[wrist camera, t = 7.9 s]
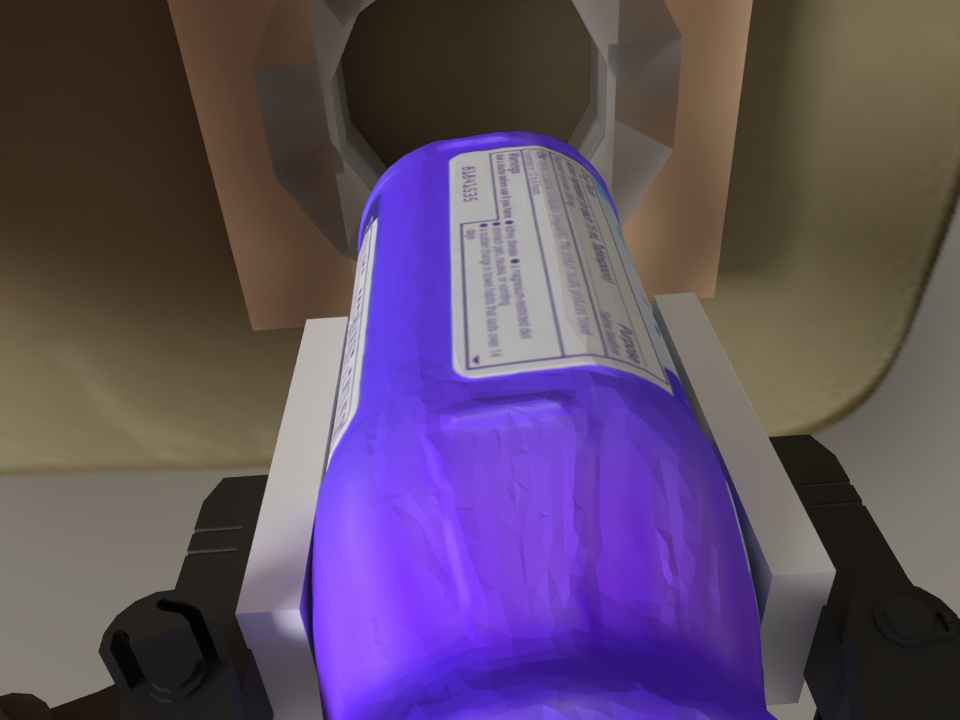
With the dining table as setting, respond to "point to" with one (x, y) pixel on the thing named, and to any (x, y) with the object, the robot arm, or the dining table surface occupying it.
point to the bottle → (520, 467)
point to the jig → (356, 169)
